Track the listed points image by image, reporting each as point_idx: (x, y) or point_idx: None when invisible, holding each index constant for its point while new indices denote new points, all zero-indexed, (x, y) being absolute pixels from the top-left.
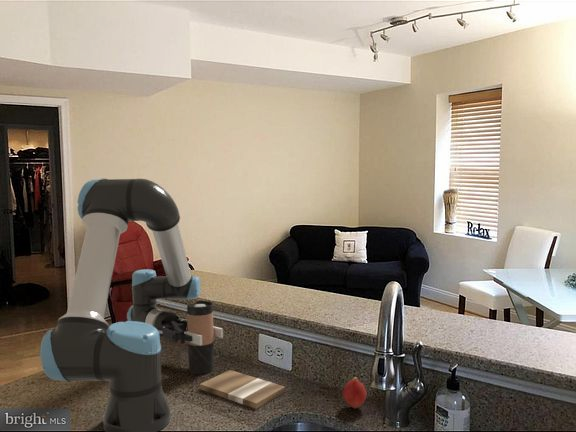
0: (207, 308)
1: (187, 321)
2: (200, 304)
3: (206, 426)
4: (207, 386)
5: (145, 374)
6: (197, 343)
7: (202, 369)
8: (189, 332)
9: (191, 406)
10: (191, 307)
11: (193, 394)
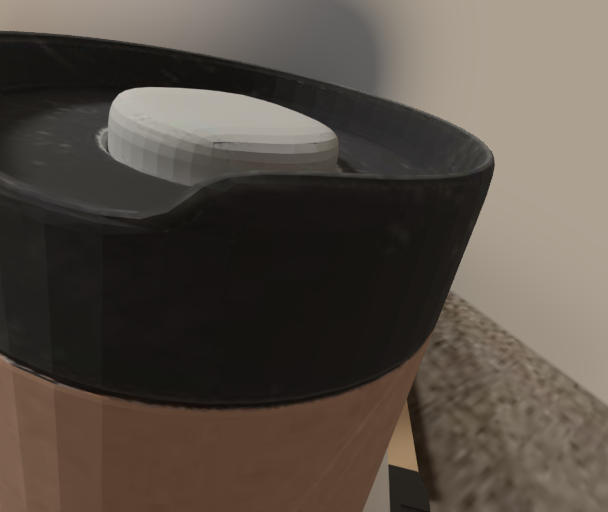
0: (292, 104)
1: (363, 486)
2: (197, 101)
3: (538, 357)
4: (411, 434)
5: None
6: None
7: None
8: (369, 506)
9: (524, 444)
10: (476, 146)
11: (464, 494)
